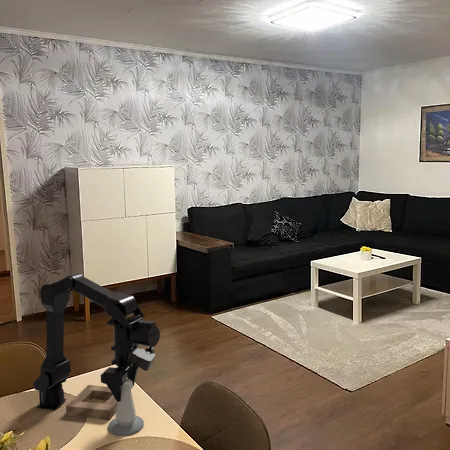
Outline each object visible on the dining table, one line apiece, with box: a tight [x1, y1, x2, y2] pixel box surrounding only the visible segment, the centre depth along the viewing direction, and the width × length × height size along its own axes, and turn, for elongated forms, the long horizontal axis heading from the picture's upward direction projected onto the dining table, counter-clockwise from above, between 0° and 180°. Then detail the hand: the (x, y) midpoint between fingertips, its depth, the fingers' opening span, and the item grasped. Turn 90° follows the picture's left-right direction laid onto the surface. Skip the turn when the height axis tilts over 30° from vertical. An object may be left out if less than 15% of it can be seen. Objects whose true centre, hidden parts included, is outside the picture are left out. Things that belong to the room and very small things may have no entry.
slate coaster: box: [108, 415, 145, 437], centre depth 134 cm, size 10×10×1 cm
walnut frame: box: [65, 384, 118, 421], centre depth 145 cm, size 14×14×3 cm
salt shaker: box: [115, 379, 137, 428], centre depth 134 cm, size 6×6×13 cm
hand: (125, 393), depth 133 cm, fingers open, 9 cm apart
